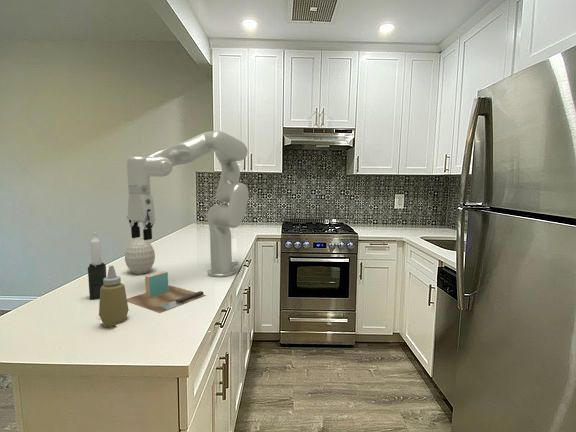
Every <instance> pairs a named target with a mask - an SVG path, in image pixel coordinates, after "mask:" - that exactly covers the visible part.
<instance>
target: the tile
mask: <svg viewBox="0 0 576 432" xmlns="http://www.w3.org/2000/svg"><path fill="white" fill-rule="evenodd" d="M144 280H145V281H144V283H145V293H146V298H148V299H152V298H155V297H158V296H161V295H164V294H167V293H169V289H168V286H169V272H168V271H167V270H165V271H164V270H163V271H159V272H155V273H152V274H148V275H144Z"/></svg>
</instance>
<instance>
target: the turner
mask: <svg viewBox="0 0 576 432" xmlns="http://www.w3.org/2000/svg"><path fill="white" fill-rule="evenodd" d="M195 292H196V291H195ZM203 294H204V291H201V290H200V291H197V292H196V293H194V294H191V295H188V296H185V297H183V298H180V299H177V300H176V302H175V301H173V302H170V303H167V304H164V305H161V306H159V307H160V308H163V309H166V310H167V311H170V310H172V309H171V308H173V309H175V308H177V307H176V306H178V307H180V306H179V305H181V306H183V305H182V304H181V303H182V302H185V301H187V300H190V299H193V298H195V297H198V296H201V295H203ZM174 307H175V308H174ZM169 309H170V310H169Z"/></svg>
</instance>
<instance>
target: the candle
mask: <svg viewBox="0 0 576 432" xmlns="http://www.w3.org/2000/svg"><path fill="white" fill-rule="evenodd" d="M97 236H98V235H97V232H96V231H94V232H93V235H92V239H91V241H90V252H91V254H90V255H91V263H90V264H89V265H88V267H87V277H88V279H87V280H88V291H89V300H91V301H95V300H100V288H101V287H102V286H103V285H104V283H103V279H104V278H106V277H107V264H106V263H104V262H102V255H101V253H102V252H101V241H100V239H99V238H98V237H97Z"/></svg>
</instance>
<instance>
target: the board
mask: <svg viewBox="0 0 576 432" xmlns="http://www.w3.org/2000/svg"><path fill="white" fill-rule="evenodd" d="M168 289H169V293H167V294H164V295H161V296H158V297H155V298H152V299H148V298H146V292H144V293H142V294H138V295H135V296H131V297H129V298H127V303H129V304H132V305H134V306H137V307H141V308H144V309H147V310H149V311H153V312H155V313H157V314H162V313H164V312H167V311H170V310H173V309H175V308H178V307H181V306H183V305H185V304H188V303H190V302H194V301H196V300H198V299H202V298H205V297H207V294H204V293H203V295H201V296H198V297H195V298H193V299H190V300H187V301H185V302H182V303H181V304H182V305H179V306H176V307H174V308H171V309H169V310H166V309H163V308H160V307H159V306H161V305H164V304H167V303H170V302H173V301H175V302H176V300H177V299H180V298H183V297H185V296H188V295H191V294H194V293H196V291H193V290H189V289H184V288H181V287H177V286H174V285H171V284H170V285H169V284H168Z"/></svg>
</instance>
